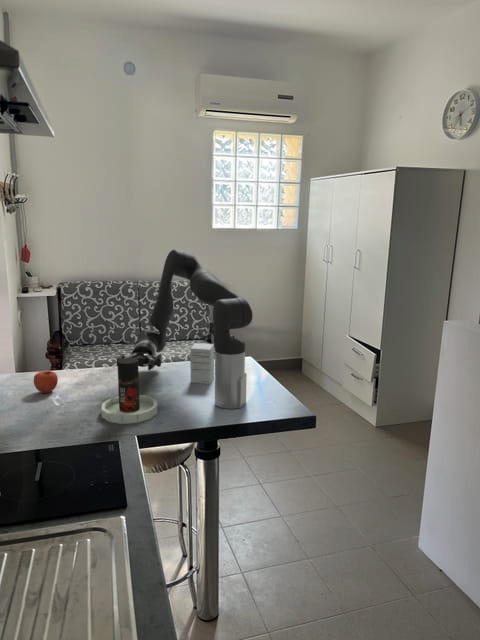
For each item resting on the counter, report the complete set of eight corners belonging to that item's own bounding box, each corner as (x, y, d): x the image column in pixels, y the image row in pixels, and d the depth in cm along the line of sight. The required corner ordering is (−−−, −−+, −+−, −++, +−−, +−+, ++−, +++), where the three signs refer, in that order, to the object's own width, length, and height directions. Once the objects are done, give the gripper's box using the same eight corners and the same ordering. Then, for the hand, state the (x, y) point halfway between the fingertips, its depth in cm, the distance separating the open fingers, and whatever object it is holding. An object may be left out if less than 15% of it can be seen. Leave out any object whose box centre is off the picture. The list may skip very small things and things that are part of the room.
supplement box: (194, 376, 177) (194, 342, 175) (214, 377, 176) (214, 343, 174) (189, 382, 170) (189, 348, 168) (210, 384, 169) (210, 349, 167)
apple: (36, 389, 162) (34, 366, 160) (59, 387, 164) (57, 364, 162) (33, 397, 155) (31, 373, 153) (57, 395, 157) (56, 371, 155)
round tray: (166, 405, 150) (165, 398, 149) (141, 426, 135) (140, 418, 134) (120, 399, 154) (119, 392, 154) (90, 419, 139) (90, 411, 139)
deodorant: (142, 405, 147) (140, 358, 144) (136, 413, 141) (134, 363, 138) (123, 404, 147) (121, 357, 144) (116, 412, 142) (114, 363, 138)
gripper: (123, 342, 168) (112, 355, 152) (164, 342, 168) (158, 355, 152) (124, 363, 169) (113, 378, 153) (165, 363, 170) (158, 378, 154)
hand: (135, 367), depth 153 cm, fingers open, 8 cm apart
